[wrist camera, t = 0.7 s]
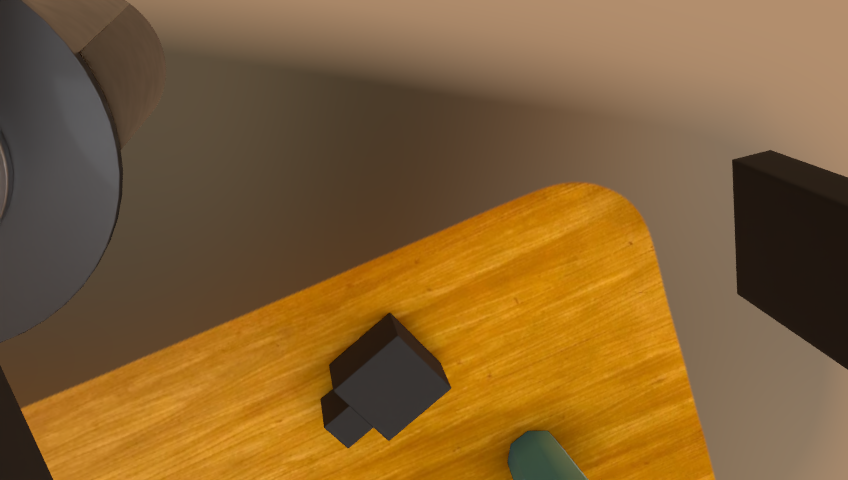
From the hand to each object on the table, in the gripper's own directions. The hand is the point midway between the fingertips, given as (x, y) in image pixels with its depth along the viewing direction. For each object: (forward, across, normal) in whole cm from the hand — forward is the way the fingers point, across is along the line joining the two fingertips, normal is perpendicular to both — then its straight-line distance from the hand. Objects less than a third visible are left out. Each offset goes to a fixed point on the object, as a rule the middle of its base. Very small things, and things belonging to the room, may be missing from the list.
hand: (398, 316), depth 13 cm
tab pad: (+46, 0, -28) cm, 54 cm away
